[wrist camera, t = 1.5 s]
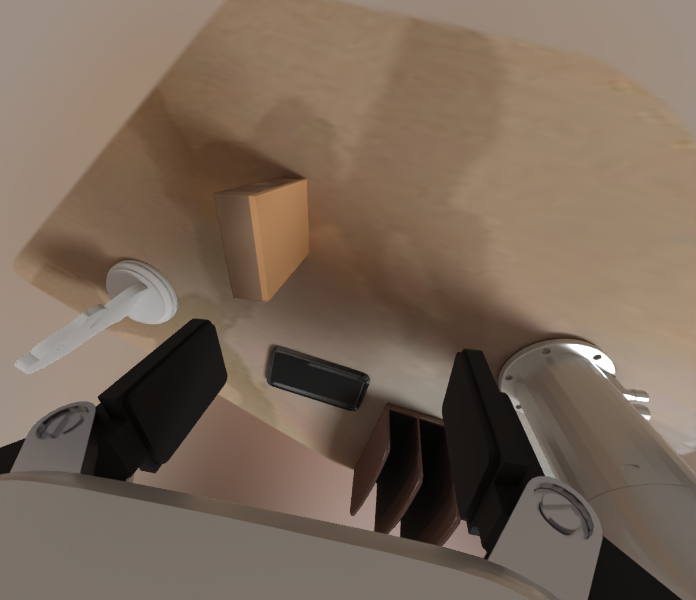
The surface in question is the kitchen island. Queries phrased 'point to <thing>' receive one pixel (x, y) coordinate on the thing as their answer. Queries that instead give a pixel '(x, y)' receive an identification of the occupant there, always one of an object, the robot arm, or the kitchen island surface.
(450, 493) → the letter holder
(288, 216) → the tan flat block
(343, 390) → the phone
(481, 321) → the kitchen island surface
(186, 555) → the robot arm
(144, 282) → the chess piece
